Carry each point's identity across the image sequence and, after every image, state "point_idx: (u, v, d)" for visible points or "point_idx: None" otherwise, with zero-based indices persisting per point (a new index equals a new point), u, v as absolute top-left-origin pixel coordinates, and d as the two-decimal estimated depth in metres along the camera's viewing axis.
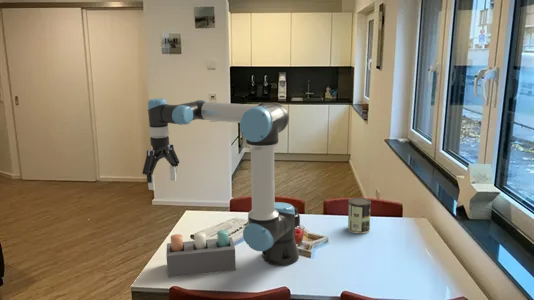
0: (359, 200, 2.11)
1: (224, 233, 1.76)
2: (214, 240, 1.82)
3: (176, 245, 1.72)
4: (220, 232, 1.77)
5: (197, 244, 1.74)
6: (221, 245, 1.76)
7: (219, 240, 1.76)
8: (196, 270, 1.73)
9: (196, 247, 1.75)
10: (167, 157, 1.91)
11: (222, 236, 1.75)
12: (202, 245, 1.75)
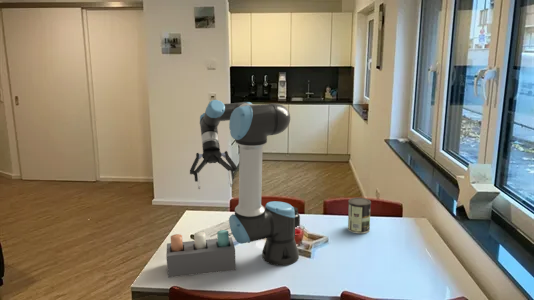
0: (359, 200, 2.11)
1: (224, 233, 1.76)
2: (214, 240, 1.82)
3: (176, 245, 1.72)
4: (220, 232, 1.77)
5: (197, 244, 1.74)
6: (221, 245, 1.76)
7: (219, 240, 1.76)
8: (196, 270, 1.73)
9: (196, 247, 1.75)
10: (220, 162, 1.96)
11: (222, 236, 1.75)
12: (202, 245, 1.75)
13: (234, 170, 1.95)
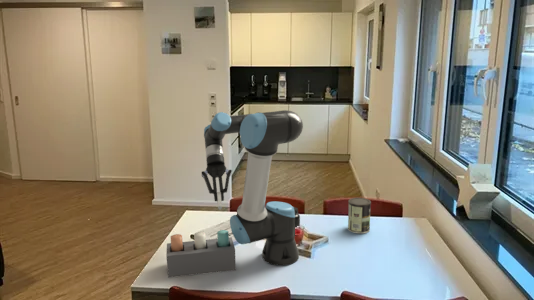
0: (359, 200, 2.11)
1: (224, 233, 1.76)
2: (214, 240, 1.82)
3: (176, 245, 1.72)
4: (220, 232, 1.77)
5: (197, 244, 1.74)
6: (221, 245, 1.76)
7: (219, 240, 1.76)
8: (196, 270, 1.73)
9: (196, 247, 1.75)
10: (218, 178, 1.87)
11: (222, 236, 1.75)
12: (202, 245, 1.75)
13: (224, 191, 1.85)
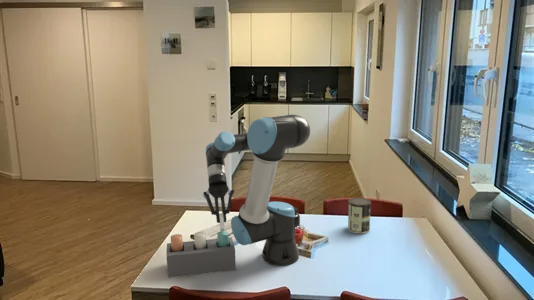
0: (359, 200, 2.11)
1: (224, 234, 1.76)
2: (214, 240, 1.82)
3: (176, 245, 1.72)
4: (220, 233, 1.77)
5: (197, 244, 1.74)
6: (221, 246, 1.76)
7: (219, 241, 1.76)
8: (196, 270, 1.73)
9: (196, 247, 1.75)
10: (221, 199, 1.84)
11: (222, 237, 1.75)
12: (202, 245, 1.75)
13: (227, 212, 1.82)
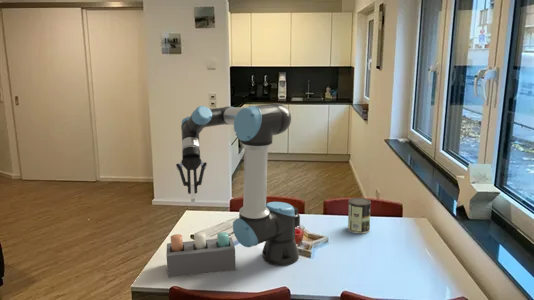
0: (359, 200, 2.11)
1: (224, 235, 1.76)
2: (214, 240, 1.82)
3: (176, 245, 1.72)
4: (220, 234, 1.77)
5: (197, 244, 1.74)
6: None
7: (219, 242, 1.76)
8: (196, 270, 1.73)
9: (196, 247, 1.75)
10: None
11: (222, 238, 1.75)
12: (202, 245, 1.75)
13: (198, 184, 1.86)
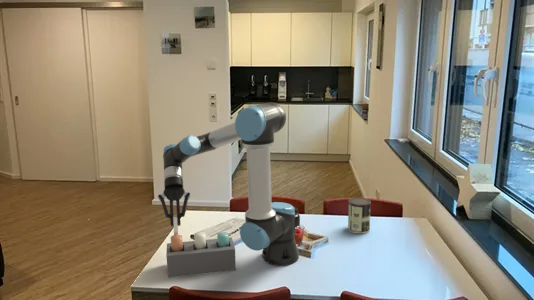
0: (359, 200, 2.11)
1: (224, 235, 1.76)
2: (214, 240, 1.82)
3: (177, 245, 1.72)
4: (220, 234, 1.77)
5: (197, 244, 1.74)
6: None
7: (219, 242, 1.76)
8: (196, 270, 1.73)
9: (196, 247, 1.75)
10: (176, 201, 1.80)
11: (222, 238, 1.75)
12: (202, 245, 1.75)
13: (181, 216, 1.78)
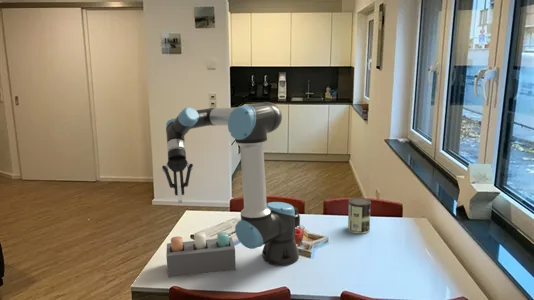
0: (359, 200, 2.11)
1: (224, 235, 1.76)
2: (214, 240, 1.82)
3: (177, 247, 1.73)
4: (220, 234, 1.77)
5: (197, 244, 1.74)
6: None
7: (219, 242, 1.76)
8: (196, 270, 1.73)
9: (196, 247, 1.75)
10: None
11: (222, 238, 1.75)
12: (202, 245, 1.75)
13: (185, 185, 1.85)
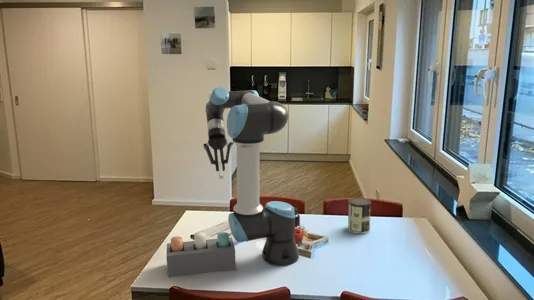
0: (359, 200, 2.11)
1: (224, 235, 1.76)
2: (214, 240, 1.82)
3: (177, 247, 1.73)
4: (220, 234, 1.77)
5: (197, 244, 1.74)
6: None
7: (219, 242, 1.76)
8: (196, 270, 1.73)
9: (196, 247, 1.75)
10: (220, 150, 1.97)
11: (222, 238, 1.75)
12: (202, 245, 1.75)
13: (225, 162, 1.95)
